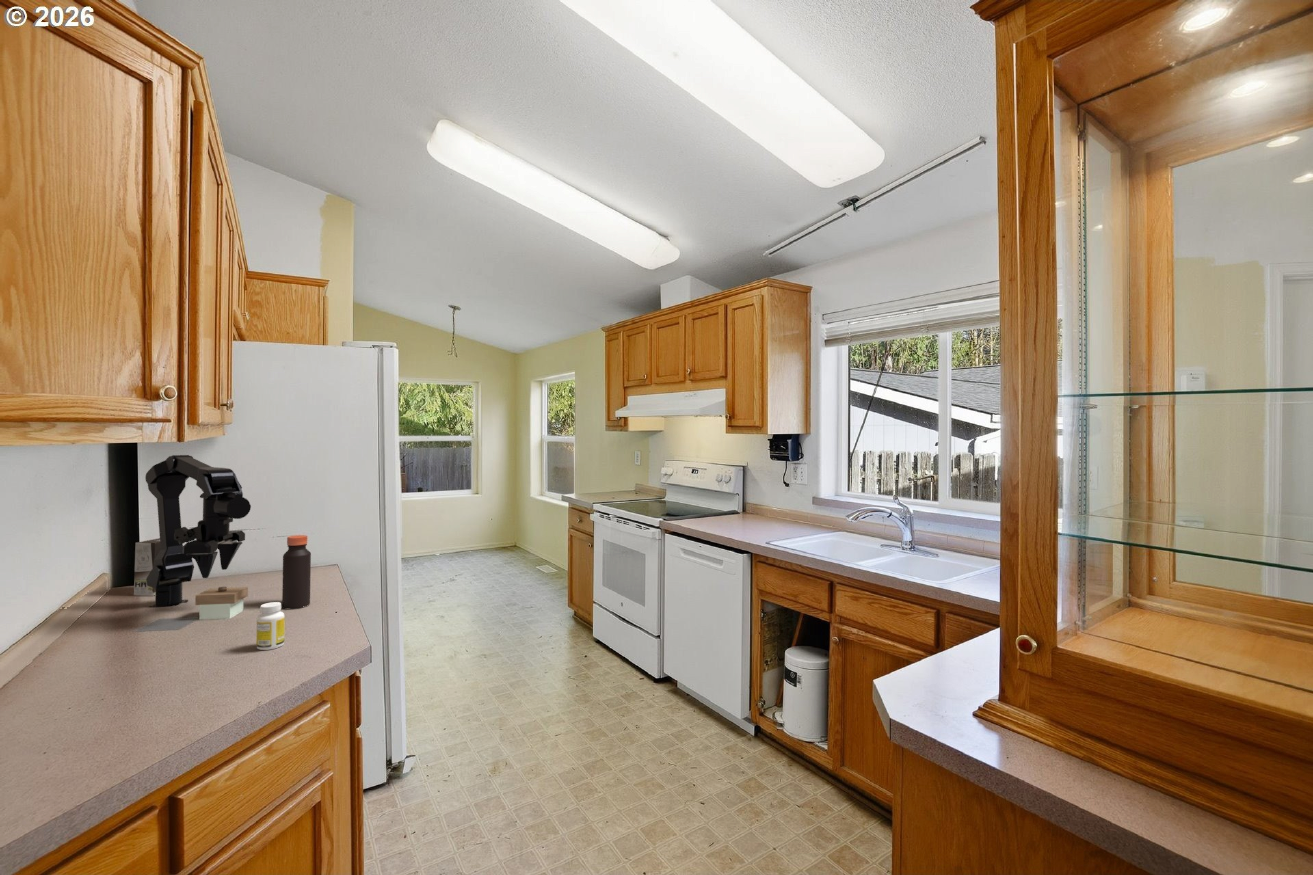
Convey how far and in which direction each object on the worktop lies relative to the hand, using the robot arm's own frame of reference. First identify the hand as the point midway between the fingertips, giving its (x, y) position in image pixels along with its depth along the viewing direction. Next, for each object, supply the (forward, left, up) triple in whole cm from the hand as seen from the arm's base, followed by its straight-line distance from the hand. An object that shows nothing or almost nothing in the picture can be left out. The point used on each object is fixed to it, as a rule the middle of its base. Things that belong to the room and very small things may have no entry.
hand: (215, 573), depth 152 cm
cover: (+1, +2, -7) cm, 8 cm away
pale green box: (+1, +2, -12) cm, 12 cm away
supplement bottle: (+26, +24, -12) cm, 37 cm away
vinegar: (-7, +17, -12) cm, 22 cm away
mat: (+7, -7, -12) cm, 15 cm away
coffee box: (-29, -30, -12) cm, 44 cm away
